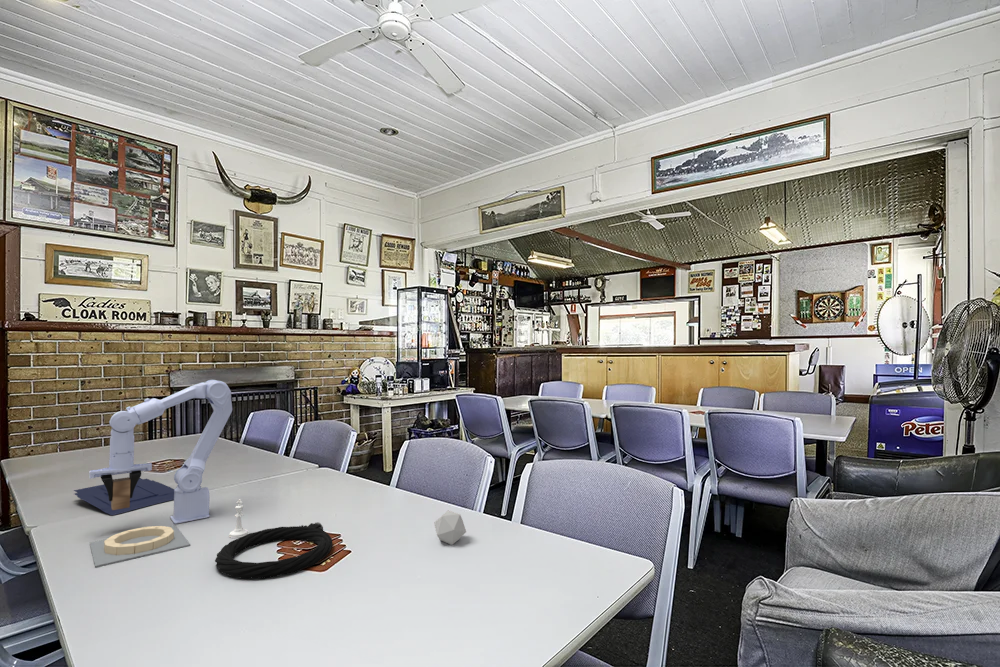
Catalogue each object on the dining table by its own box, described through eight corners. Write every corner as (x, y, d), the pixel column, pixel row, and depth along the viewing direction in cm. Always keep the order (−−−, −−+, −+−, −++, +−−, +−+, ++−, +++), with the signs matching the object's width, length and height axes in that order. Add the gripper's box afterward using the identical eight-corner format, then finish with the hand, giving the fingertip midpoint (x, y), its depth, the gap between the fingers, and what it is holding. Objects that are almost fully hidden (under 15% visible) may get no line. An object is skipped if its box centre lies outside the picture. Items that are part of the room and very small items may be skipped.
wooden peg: (128, 504, 147) (128, 477, 148) (129, 507, 144) (130, 479, 145) (111, 507, 145) (111, 479, 145) (112, 510, 142) (113, 482, 142)
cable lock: (187, 556, 119) (280, 516, 147) (187, 572, 119) (280, 529, 147) (279, 573, 110) (359, 527, 138) (279, 590, 110) (359, 541, 138)
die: (472, 543, 137) (467, 509, 143) (458, 537, 130) (454, 502, 136) (445, 552, 139) (442, 517, 145) (431, 546, 132) (428, 510, 138)
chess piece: (240, 538, 139) (240, 502, 139) (224, 537, 140) (225, 501, 140) (252, 532, 144) (252, 497, 144) (237, 531, 145) (238, 496, 145)
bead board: (175, 526, 148) (176, 518, 148) (190, 545, 134) (190, 536, 134) (89, 543, 135) (89, 535, 135) (95, 567, 120) (95, 557, 120)
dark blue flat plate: (143, 483, 193) (144, 473, 193) (188, 503, 179) (189, 493, 179) (65, 499, 171) (66, 489, 171) (110, 524, 157) (111, 512, 157)
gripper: (149, 447, 153) (148, 491, 153) (89, 453, 143) (87, 500, 143) (153, 450, 148) (152, 496, 147) (90, 457, 138) (89, 506, 138)
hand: (120, 498), depth 145 cm, fingers closed on wooden peg, 4 cm apart
